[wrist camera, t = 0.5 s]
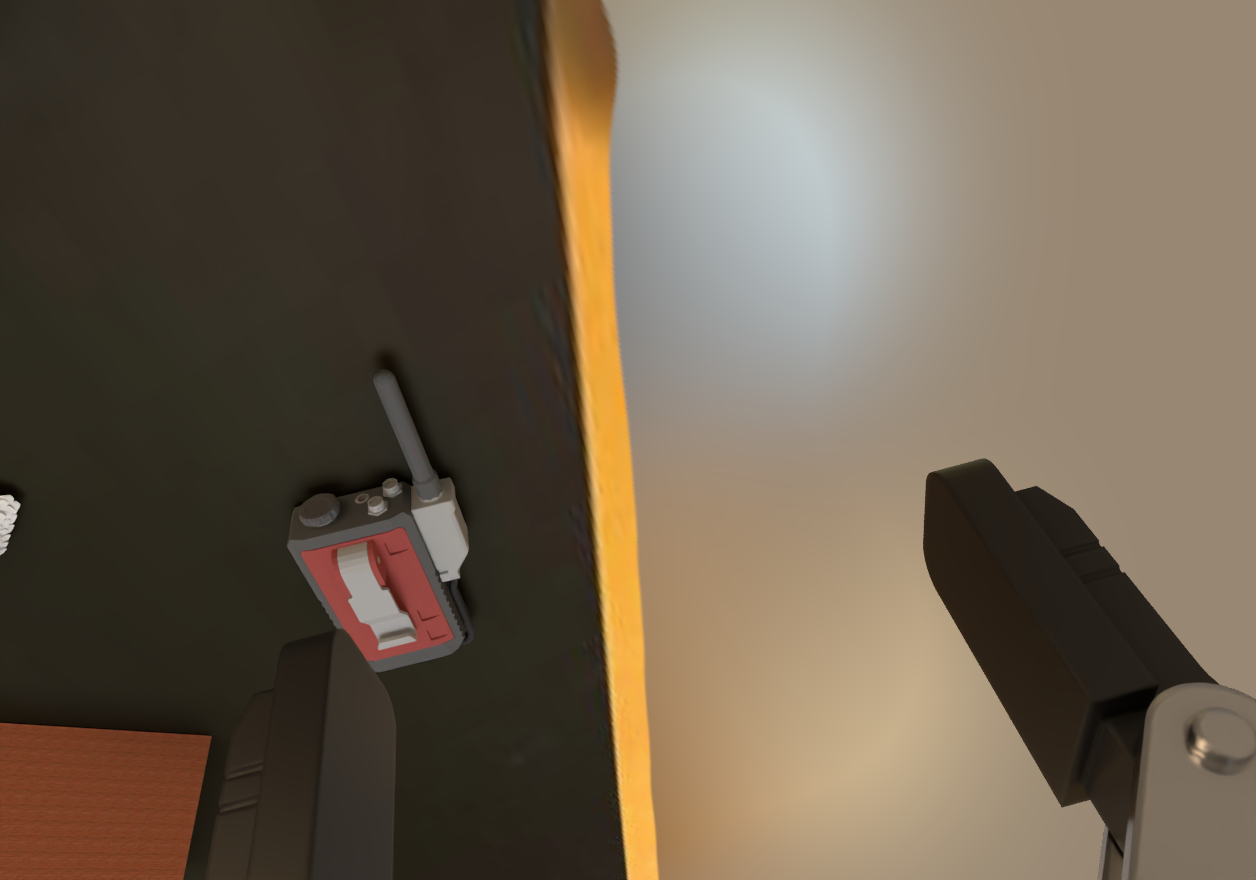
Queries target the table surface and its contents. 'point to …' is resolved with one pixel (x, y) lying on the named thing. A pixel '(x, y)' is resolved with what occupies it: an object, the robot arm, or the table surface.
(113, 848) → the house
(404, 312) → the table surface
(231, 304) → the table surface
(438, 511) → the walkie-talkie
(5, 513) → the pincushion
